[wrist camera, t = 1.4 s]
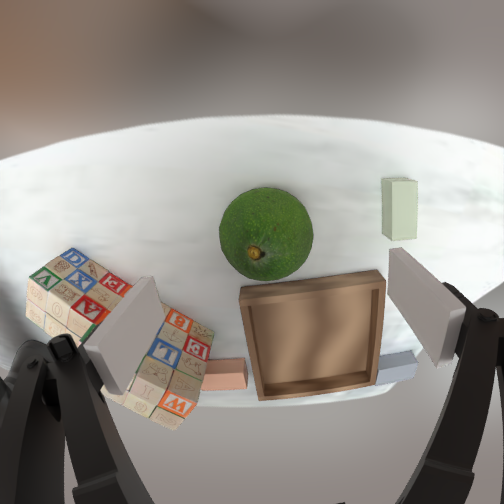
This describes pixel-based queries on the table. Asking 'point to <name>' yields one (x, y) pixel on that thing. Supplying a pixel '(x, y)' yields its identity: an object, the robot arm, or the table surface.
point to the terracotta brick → (225, 375)
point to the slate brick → (396, 367)
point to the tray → (314, 334)
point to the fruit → (266, 234)
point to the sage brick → (399, 208)
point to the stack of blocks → (97, 309)
